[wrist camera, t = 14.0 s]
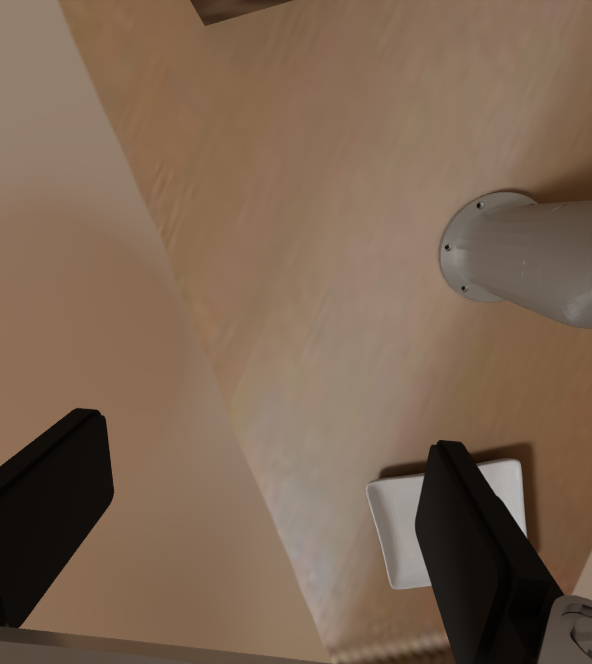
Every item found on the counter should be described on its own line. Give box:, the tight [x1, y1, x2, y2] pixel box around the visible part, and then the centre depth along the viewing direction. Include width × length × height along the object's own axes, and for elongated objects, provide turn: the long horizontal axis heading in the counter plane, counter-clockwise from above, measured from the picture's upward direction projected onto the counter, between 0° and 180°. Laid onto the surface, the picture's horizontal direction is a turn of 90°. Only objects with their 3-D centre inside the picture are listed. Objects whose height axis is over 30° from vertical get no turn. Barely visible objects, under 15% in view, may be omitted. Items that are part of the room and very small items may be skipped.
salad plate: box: [366, 458, 528, 589], centre depth 53 cm, size 21×21×3 cm
